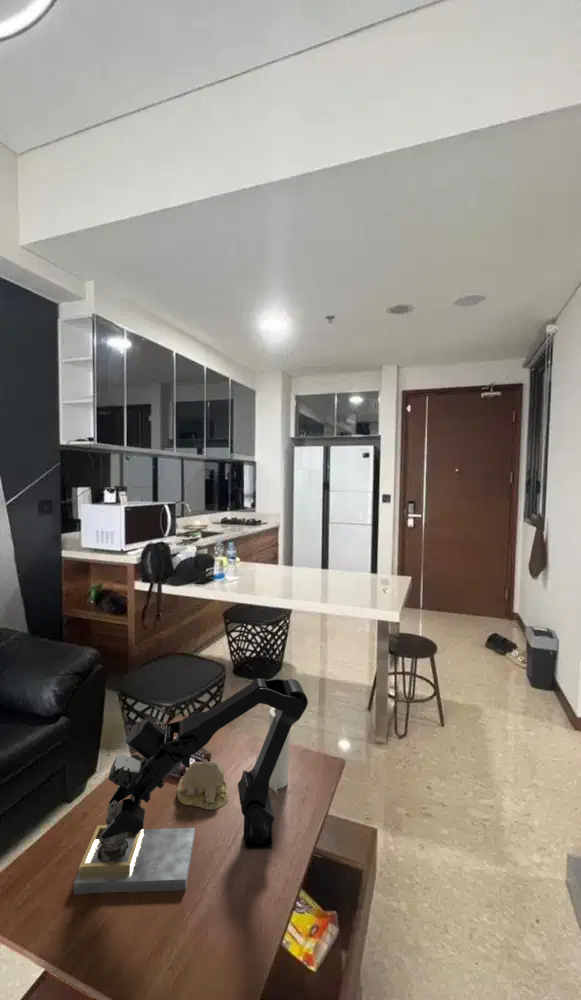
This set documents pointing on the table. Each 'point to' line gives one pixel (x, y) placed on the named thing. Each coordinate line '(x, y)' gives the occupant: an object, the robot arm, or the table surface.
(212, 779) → the ceramic model
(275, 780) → the paper towel roll
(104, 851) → the grey tiered ornament
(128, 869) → the grey slab
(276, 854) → the table surface
